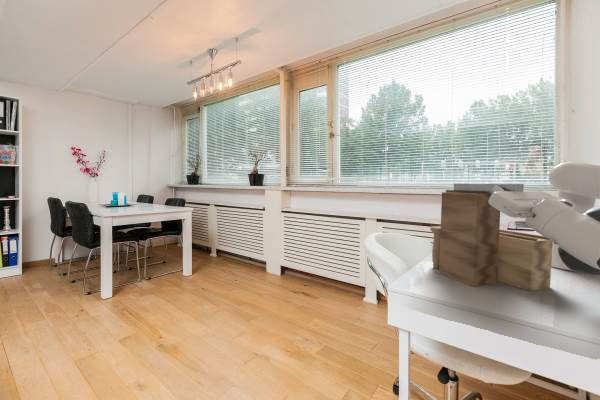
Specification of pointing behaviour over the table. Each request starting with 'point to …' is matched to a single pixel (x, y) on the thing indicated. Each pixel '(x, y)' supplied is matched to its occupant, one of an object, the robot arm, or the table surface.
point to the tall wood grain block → (469, 237)
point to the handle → (436, 246)
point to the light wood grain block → (524, 260)
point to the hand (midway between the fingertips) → (500, 187)
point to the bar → (488, 187)
